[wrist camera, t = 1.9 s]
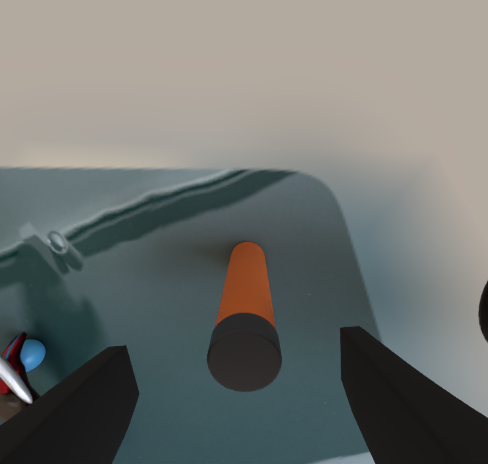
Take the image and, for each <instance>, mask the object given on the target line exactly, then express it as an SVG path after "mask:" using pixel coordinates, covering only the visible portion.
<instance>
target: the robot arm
mask: <svg viewBox="0 0 488 464" xmlns="http://www.w3.org/2000/svg"><path fill="white" fill-rule="evenodd" d="M340 342H341V380H342V383H343V386H344V389H345V392H346V395H347V398H348V401H349V404H350V407H351V410H352V412H353V415H354V417H355V420H356V422H357V424H358V426H359V429H360V431H361V433H362V435H363V437H364V440H365V442H366V444H367V446H368V449H369V451H370V453H371V455H372V457H373V460H374V462H375V464H488V418H487V417H486V416H484V415H482V414H481V413H479V412H478V411H476V410H475V409H473V408H471V407H470V406H468V405H467V404H465V403H464V402H462V401H461V400H459V399H458V398H456V397H455V396H453V395H452V394H450V393H449V392H447V391H446V390H444V389H443V388H442V387H440V386H439V385H437V384H436V383H434V382H433V381H432V380H430V379H429V378H427V377H426V376H424V375H423V374H422V373H420V372H419V371H418V370H416V369H415V368H414V367H412V366H411V365H409V364H408V363H407V362H405V361H404V360H403V359H401V358H400V357H399V356H397V355H396V354H395V353H394V352H392V351H391V350H389V349H388V348H387V347H386V346H384V345H383V344H382V343H381V342H379V341H378V340H377V339H375V338H374V337H373V336H372V335H370V334H369V333H368V332H366V331H365V330H364V329H362V328H361V327H360V326H355V327H343V328H340ZM138 396H139V390H138V387H137V383H136V379H135V376H134V372H133V369H132V365H131V361H130V358H129V354H128V350H127V347H126V346H114V347H108V348H107V349H105V350H103V351H102V352H100V353H99V354H98V355H96V356H95V357H93V358H92V359H91V360H89V361H88V362H87V363H85V364H84V365H82V366H81V367H80V368H78V369H77V370H76V371H74V372H73V373H72V374H70V375H69V376H68V377H66V378H65V379H64V380H62V381H61V382H60V383H58V384H57V385H56V386H54V387H53V388H52V389H50V390H49V391H48V392H46V393H45V394H44V395H42V396H41V397H40V398H38V399H37V400H36V401H34V402H33V403H31V404H30V405H28V406H27V407H26V408H24V409H23V410H21V411H20V412H19V413H17V414H16V415H14V416H13V417H12V418H10V419H9V420H7V421H6V422H4V423H3V424H2V425H0V464H112V462H113V460H114V458H115V456H116V453H117V451H118V449H119V447H120V445H121V442H122V440H123V438H124V436H125V434H126V431H127V429H128V426H129V424H130V421H131V418H132V415H133V412H134V409H135V406H136V403H137V400H138Z"/></svg>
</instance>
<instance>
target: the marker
mask: <svg viewBox="0 0 488 464" xmlns="http://www.w3.org/2000/svg"><path fill="white" fill-rule="evenodd" d="M207 364H208V368H209V370H210V373H211V374H212V376H213V377H214V379H215V380H216V381H217V382H218V383H220V384H221V385H223V386H224V387H226V388H228V389H231V390H234V391H239V392H251V391H256V390H260V389H262V388H264V387H266V386H268V385H269V384H270V383H271V382H273V381H274V379H275V378H276V377H277V375H278V373H279V371H280V368H281V364H282V356H281V350H280V344H279V338H278V334H277V332H276V327H275V321H274V314H273V307H272V301H271V294H270V287H269V281H268V274H267V267H266V261H265V254H264V251H263V250H262V248H261V247H260V246H259V245H257V244H256V243H253V242H242V243H240V244H238V245H237V246H236V247H235V248H234V249H233V251H232V253H231V257H230V262H229V266H228V271H227V275H226V280H225V285H224V289H223V294H222V298H221V303H220V307H219V312H218V316H217V321H216V325H215V329H214V331H213V333H212V337H211V341H210V345H209V350H208V354H207Z"/></svg>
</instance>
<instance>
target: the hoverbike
mask: <svg viewBox="0 0 488 464" xmlns="http://www.w3.org/2000/svg"><path fill="white" fill-rule="evenodd" d="M26 336H27V334H26V333H25V332H22V333H20V334H18V335H17V336H16V337H15V338H14V339H13V340H12V341H11V342H10V343H9V345H8V346H7V348H6V349H5V351H4V352H3V354H2V356H1V355H0V420H2V421H3V422H6V421H7V420H9V419H10V418H12V417H13V416H14V415H16V414H17V413H19V412H20V411H21V410H23V409H24V408H26V407H27V406H28V405H30V404H31V403H33V402H34V401H36V400H37V399H38V398H40V397H41V396H40V395H39V394H38V393H37V392H36V391H35V389H34V388H33V387H32V386H31V385H30V383H29V381H28V378H27V374H26V372H28V371H30V370H32V369H34V368H36V367H37V366H38V365H39V364H40V363H41V362H42V360H43V359H44V356H45V347H44V345H43V344H42V343H41V342H40V341H37V340H33V339H29V340H25V339H26Z"/></svg>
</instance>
